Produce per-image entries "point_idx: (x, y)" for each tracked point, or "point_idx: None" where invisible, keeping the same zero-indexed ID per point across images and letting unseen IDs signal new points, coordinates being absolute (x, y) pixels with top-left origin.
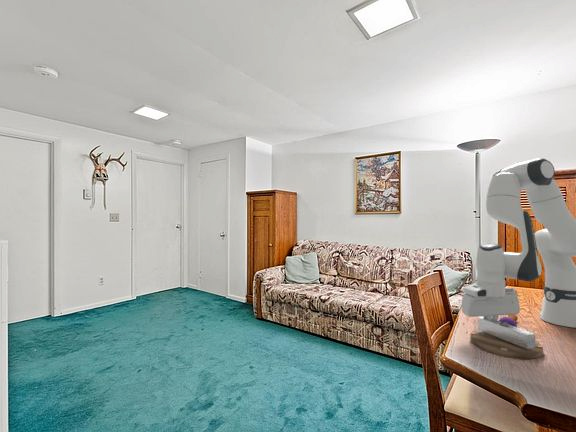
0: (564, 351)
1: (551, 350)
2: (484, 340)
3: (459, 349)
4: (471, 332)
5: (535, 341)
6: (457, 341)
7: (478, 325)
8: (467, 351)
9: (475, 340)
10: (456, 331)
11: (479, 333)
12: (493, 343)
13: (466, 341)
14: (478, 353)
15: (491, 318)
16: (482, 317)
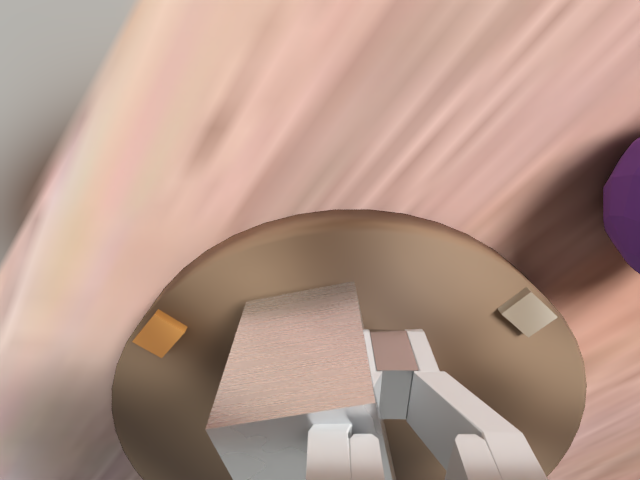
0: (631, 465)
1: (574, 454)
2: (186, 434)
3: (7, 416)
4: (150, 321)
5: (551, 464)
6: (32, 318)
7: (236, 335)
8: (51, 437)
9: (116, 428)
10: (106, 95)
11: (233, 325)
12: (222, 469)
13: (108, 323)
14: (108, 456)
15: (448, 406)
16: (281, 432)
